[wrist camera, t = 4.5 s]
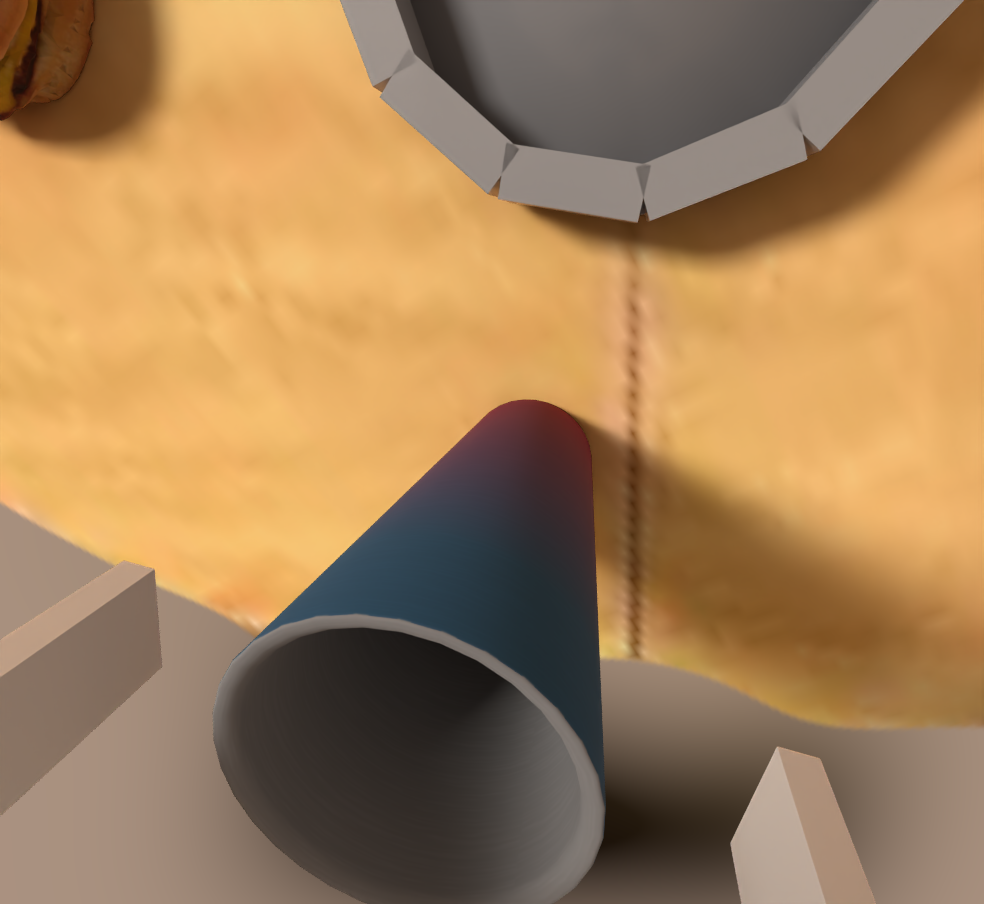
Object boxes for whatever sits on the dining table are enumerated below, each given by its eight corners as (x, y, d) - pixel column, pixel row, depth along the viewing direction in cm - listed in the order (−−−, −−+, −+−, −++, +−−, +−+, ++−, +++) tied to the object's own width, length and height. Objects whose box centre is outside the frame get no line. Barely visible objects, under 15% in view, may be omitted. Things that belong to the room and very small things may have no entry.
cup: (416, 442, 24) (141, 722, 10) (541, 340, 21) (399, 533, 8) (518, 559, 25) (394, 959, 11) (650, 476, 22) (697, 865, 9)
